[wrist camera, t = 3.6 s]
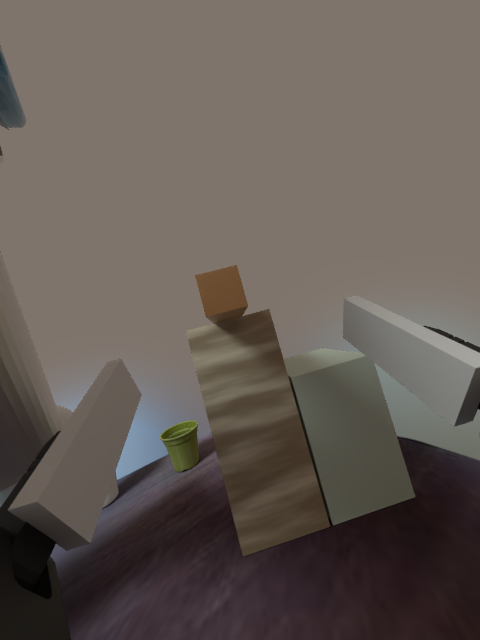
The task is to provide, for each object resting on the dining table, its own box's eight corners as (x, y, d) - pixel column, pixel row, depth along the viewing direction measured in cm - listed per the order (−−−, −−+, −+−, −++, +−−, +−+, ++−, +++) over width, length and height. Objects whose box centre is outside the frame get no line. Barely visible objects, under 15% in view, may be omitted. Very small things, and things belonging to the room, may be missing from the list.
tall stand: (330, 526, 28) (269, 309, 30) (243, 556, 27) (185, 331, 29) (293, 457, 44) (255, 318, 46) (238, 475, 43) (201, 333, 45)
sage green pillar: (415, 497, 29) (371, 354, 30) (333, 525, 28) (291, 377, 29) (349, 439, 45) (322, 348, 46) (295, 456, 44) (269, 363, 45)
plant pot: (190, 450, 59) (182, 419, 59) (213, 454, 53) (205, 420, 54) (160, 473, 51) (152, 437, 52) (184, 481, 46) (174, 441, 46)
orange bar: (247, 305, 20) (236, 265, 20) (205, 316, 19) (195, 275, 20) (238, 322, 43) (233, 304, 44) (219, 327, 43) (214, 309, 43)
